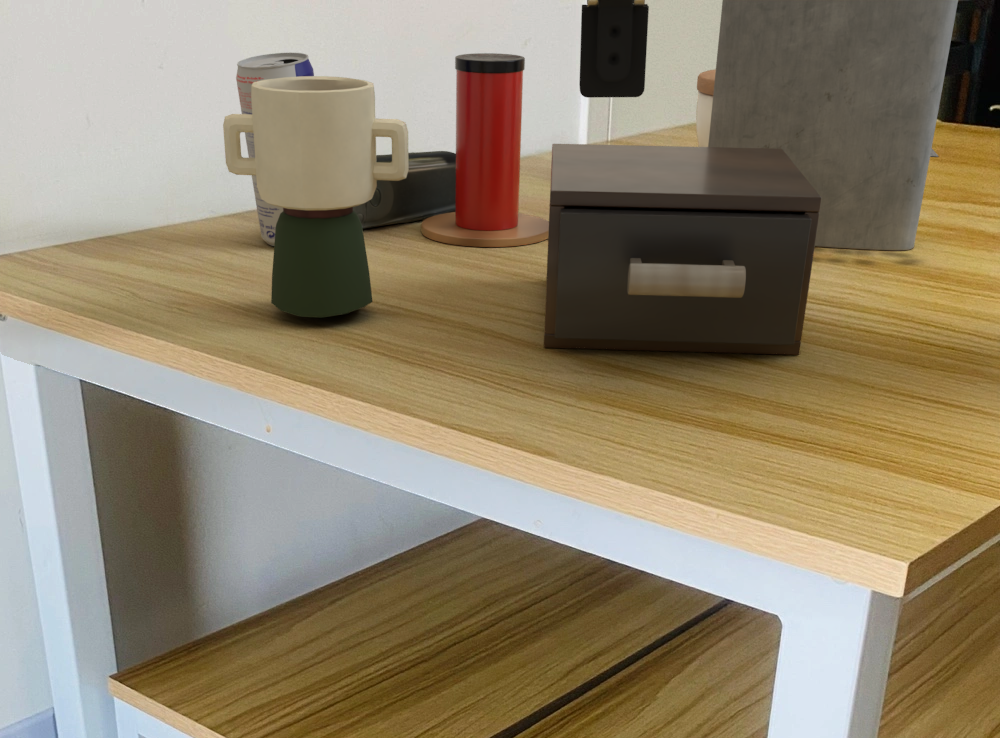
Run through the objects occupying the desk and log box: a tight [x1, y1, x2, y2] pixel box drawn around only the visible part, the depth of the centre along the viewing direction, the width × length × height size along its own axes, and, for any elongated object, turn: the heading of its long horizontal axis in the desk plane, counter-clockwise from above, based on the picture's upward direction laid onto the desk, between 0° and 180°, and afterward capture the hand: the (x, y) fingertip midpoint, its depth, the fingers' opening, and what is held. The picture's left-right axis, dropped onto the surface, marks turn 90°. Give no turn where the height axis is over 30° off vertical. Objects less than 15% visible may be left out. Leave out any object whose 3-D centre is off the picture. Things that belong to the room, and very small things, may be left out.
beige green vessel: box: [222, 75, 409, 319], centre depth 81 cm, size 11×7×13 cm, turn 82°
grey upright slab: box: [708, 0, 959, 251], centre depth 98 cm, size 16×4×20 cm, turn 72°
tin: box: [454, 52, 526, 231], centre depth 101 cm, size 5×5×12 cm
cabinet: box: [543, 143, 821, 356], centre depth 83 cm, size 16×15×9 cm
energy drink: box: [235, 52, 315, 247], centre depth 97 cm, size 5×5×12 cm
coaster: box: [420, 212, 549, 248], centre depth 104 cm, size 10×10×1 cm
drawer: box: [555, 206, 811, 345], centre depth 80 cm, size 19×13×7 cm
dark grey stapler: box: [353, 150, 456, 230], centre depth 105 cm, size 5×3×15 cm
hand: (611, 94), depth 69 cm, fingers closed
